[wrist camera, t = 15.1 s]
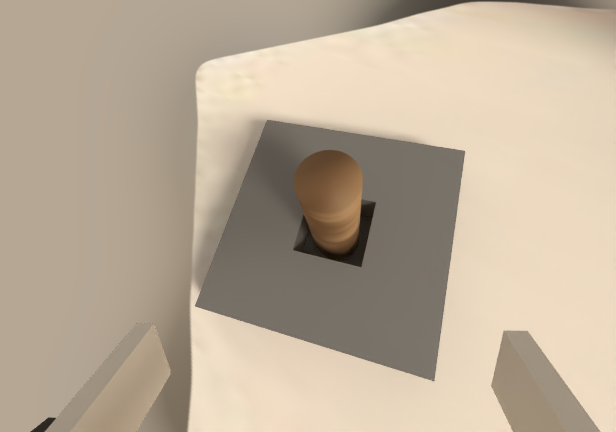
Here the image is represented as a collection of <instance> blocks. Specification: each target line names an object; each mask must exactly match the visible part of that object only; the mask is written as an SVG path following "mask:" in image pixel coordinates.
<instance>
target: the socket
mask: <svg viewBox="0 0 616 432" xmlns="http://www.w3.org/2000/svg"><path fill="white" fill-rule="evenodd" d="M323 150H337V151H341V152H344V153H346V154H348V155H349V156H351V157H352V158H353V159H354V160H355V161H356V162H357V163H358V165H359V166H360V168H361V171H362V176H363V185H362V198H361V212H360V215H363V216H368V217H373V218H372V223H371V227H370V232H369V236H368V240H367V245H366V249H365V254H364V258H363V262H362V267H358V266H354V265H350V264H346V263H342V262H338V261H334V260H330V259H326V258H322V257H318V256H314V255H310V254H306V253H302V250H303V247H304V243H305V240H306V237H307V233H308V230H309V226H308V223H307V221H306V218H305V216H304V213H303V210H302V208H301V205H300V203H299V200H298V197H297V195H296V192H295V189H294V175H295V172H296V170H297V168H298V166H299V165H300V163H301V162H302V161H303V160H304V159H305V158H307V157H308V156H310V155H311V154H313V153H316V152H319V151H323ZM464 155H465V151H462V150H455V149H449V148H443V147H436V146H430V145H423V144H417V143H411V142H404V141H398V140H392V139H385V138H379V137H373V136H366V135H360V134H354V133H347V132H341V131H334V130H328V129H322V128H315V127H309V126H303V125H296V124H290V123H284V122H277V121H271V120H267V122H266V124H265V127H264V130H263V132H262V135H261V137H260V140H259V142H258V145H257V148H256V150H255V153H254V155H253V158H252V160H251V163H250V166H249V168H248V171H247V173H246V176H245V178H244V181H243V184H242V186H241V189H240V191H239V194H238V197H237V199H236V202H235V204H234V207H233V209H232V212H231V215H230V217H229V220H228V222H227V225H226V227H225V230H224V233H223V235H222V238H221V240H220V243H219V245H218V248H217V251H216V253H215V256H214V258H213V261H212V263H211V266H210V269H209V271H208V274H207V276H206V279H205V282H204V284H203V287H202V289H201V292H200V294H199V297H198V300H197V302H196V305H195V306H196V307H199V308H202V309H205V310H208V311H212V312H215V313H218V314H221V315H224V316H228V317H231V318H234V319H237V320H240V321H244V322H247V323H250V324H253V325H256V326H260V327H263V328H266V329H269V330H272V331H275V332H279V333H282V334H285V335H288V336H291V337H295V338H298V339H301V340H304V341H307V342H311V343H314V344H317V345H320V346H323V347H327V348H330V349H333V350H336V351H339V352H343V353H346V354H349V355H352V356H355V357H358V358H362V359H365V360H368V361H371V362H374V363H378V364H381V365H384V366H387V367H390V368H394V369H397V370H400V371H403V372H406V373H410V374H413V375H416V376H419V377H422V378H426V379H429V380H432V381H434V378H435V371H436V363H437V356H438V348H439V341H440V334H441V326H442V319H443V311H444V304H445V296H446V289H447V282H448V274H449V267H450V259H451V252H452V244H453V237H454V230H455V222H456V215H457V207H458V200H459V192H460V185H461V177H462V170H463V163H464Z"/></svg>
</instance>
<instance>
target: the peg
mask: <svg viewBox="0 0 616 432" xmlns="http://www.w3.org/2000/svg"><path fill="white" fill-rule="evenodd" d="M362 185H363V176H362V171H361V168H360V166H359V165H358V163H357V162H356V161H355V160H354V159H353V158H352V157H351V156H349V155H348V154H346V153H344V152H341V151H337V150H323V151H319V152H316V153H313V154H311V155H310V156H308V157H307V158H305V159H304V160H303V161H302V162H301V163H300V165H299V166H298V168H297V170H296V172H295V175H294V189H295V192H296V195H297V197H298V200H299V203H300V205H301V208H302V210H303V213H304V216H305V218H306V221H307V223H308V226H309V229H310V231H311V234H312V236H313V239H314V242H315V244H316V247H317V249H318V251H319V252H320V253H321V254H322V255H323V256H324V257H326V258H328V259H331V260H343V259H346V258H348V257H349V256H351V255H352V254H353V253H354V251H355V250H356V248H357V245H358V239H359V226H360V212H361V198H362Z"/></svg>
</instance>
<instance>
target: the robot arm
mask: <svg viewBox="0 0 616 432" xmlns="http://www.w3.org/2000/svg"><path fill="white" fill-rule="evenodd" d="M170 374H171V371H170V368H169V365H168V362H167V359H166V357H165V354H164V351H163V348H162V345H161V342H160V340H159V337H158V334H157V331H156V328H155V325H154V324H141V323H140V324H138V323H137V324H136V325H135V326H134V327H133V328H132V329H131V331H130V332H129V333H128V334H127V335H126V336H125V338H124V339H123V340H122V341H121V342H120V343H119V345H118V346H117V347H116V348H115V350H114V351H113V352H112V353H111V354H110V355H109V357H108V358H107V359H106V360H105V361H104V362H103V364H102V365H101V366H100V367H99V369H98V370H97V371H96V372H95V373H94V374H93V375H92V377H91V378H90V379H89V380H88V381H87V382H86V384H85V385H84V386H83V387H82V389H81V390H80V391H79V392H78V393H77V394H76V395H75V397H74V398H73V399H72V400H71V401H70V403H69V404H68V405H67V406H66V407H65V408H64V410H63V411H62V412H61V413H60V415H59V416H58V417H57V418H47V419H46V420H45V421H44V422H42V423H41V424H40V425H39V426H37V427H36V428H35V429H34V430H32V431H31V432H137V430H138V428H139V427H140V425H141V423H142V422H143V420H144V418H145V416H146V415H147V413H148V411H149V410H150V408H151V406H152V405H153V403H154V401H155V399H156V398H157V396H158V394H159V393H160V391H161V389H162V387H163V386H164V384H165V382H166V381H167V379H168V377H169V376H170ZM491 386H492V388H493V391H494V393H495V395H496V397H497V399H498V401H499V403H500V405H501V407H502V409H503V412H504V414H505V416H506V418H507V420H508V422H509V424H510V426H511V428H512V430H513V432H600V431H599V429H598V428H597V426H596V425H595V424H594V422H593V421H592V420H591V418H590V417H589V415H588V414H587V413H586V411H585V410H584V408H583V407H582V406H581V404H580V403H579V402H578V400H577V399H576V397H575V396H574V395H573V393H572V392H571V390H570V389H569V388H568V386H567V385H566V384H565V382H564V381H563V379H562V378H561V377H560V375H559V374H558V372H557V371H556V370H555V368H554V367H553V366H552V364H551V363H550V361H549V360H548V359H547V357H546V356H545V354H544V353H543V352H542V350H541V349H540V348H539V346H538V345H537V343H536V342H535V341H534V339H533V338H532V336H531V335H530V334H529V332H528V331H504V332H503V337H502V341H501V345H500V350H499V354H498V359H497V363H496V367H495V372H494V376H493V380H492V385H491Z"/></svg>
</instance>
